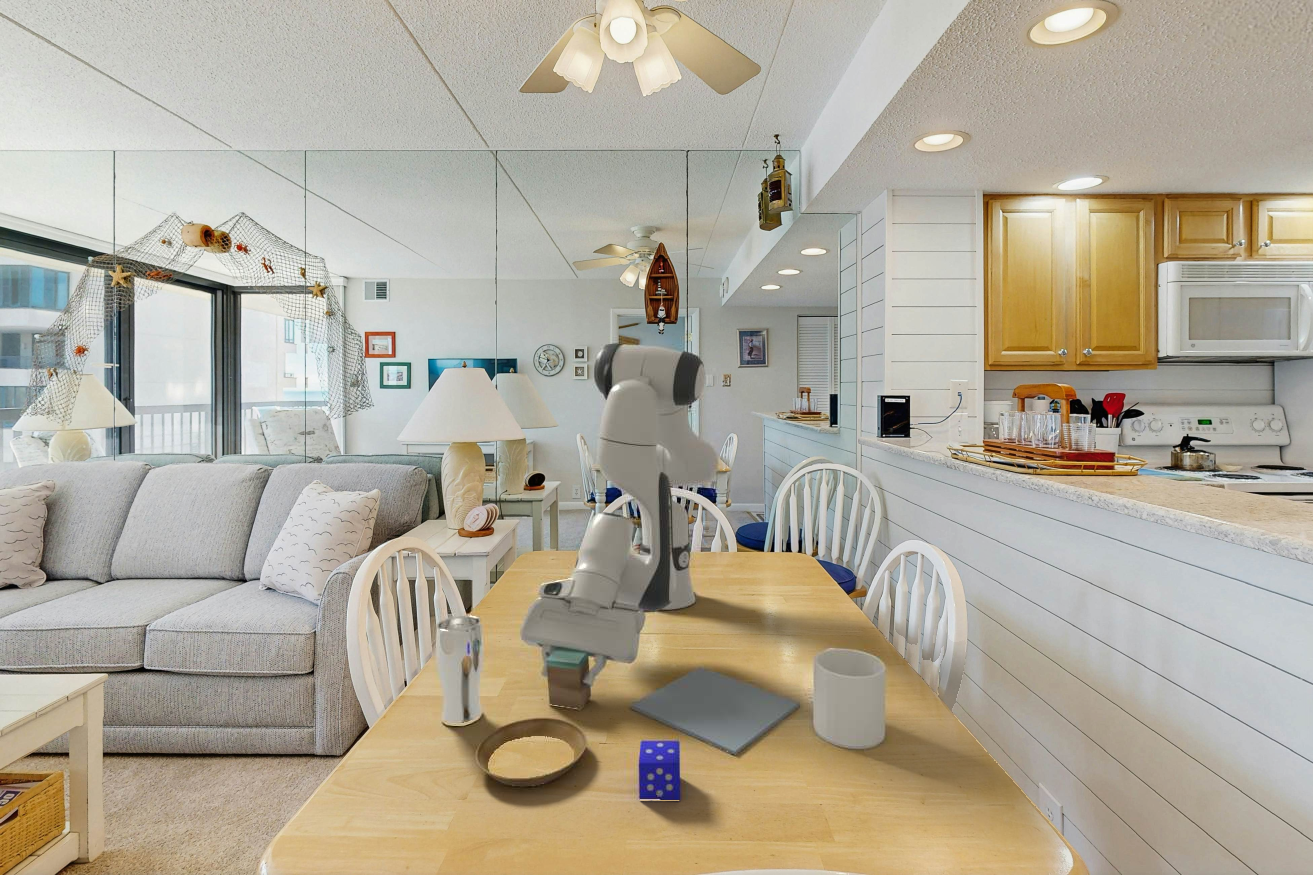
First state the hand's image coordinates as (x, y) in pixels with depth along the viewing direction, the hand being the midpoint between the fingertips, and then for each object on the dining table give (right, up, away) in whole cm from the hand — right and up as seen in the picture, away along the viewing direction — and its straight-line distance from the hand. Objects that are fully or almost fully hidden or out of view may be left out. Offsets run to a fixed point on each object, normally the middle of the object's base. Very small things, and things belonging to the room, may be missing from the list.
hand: (566, 680), depth 98 cm
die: (+15, -6, -21) cm, 26 cm away
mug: (+43, -4, -7) cm, 43 cm away
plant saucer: (-2, -6, -15) cm, 16 cm away
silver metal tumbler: (-16, -5, -3) cm, 17 cm away
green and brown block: (+1, -4, +1) cm, 4 cm away
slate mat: (+24, -4, -1) cm, 24 cm away
